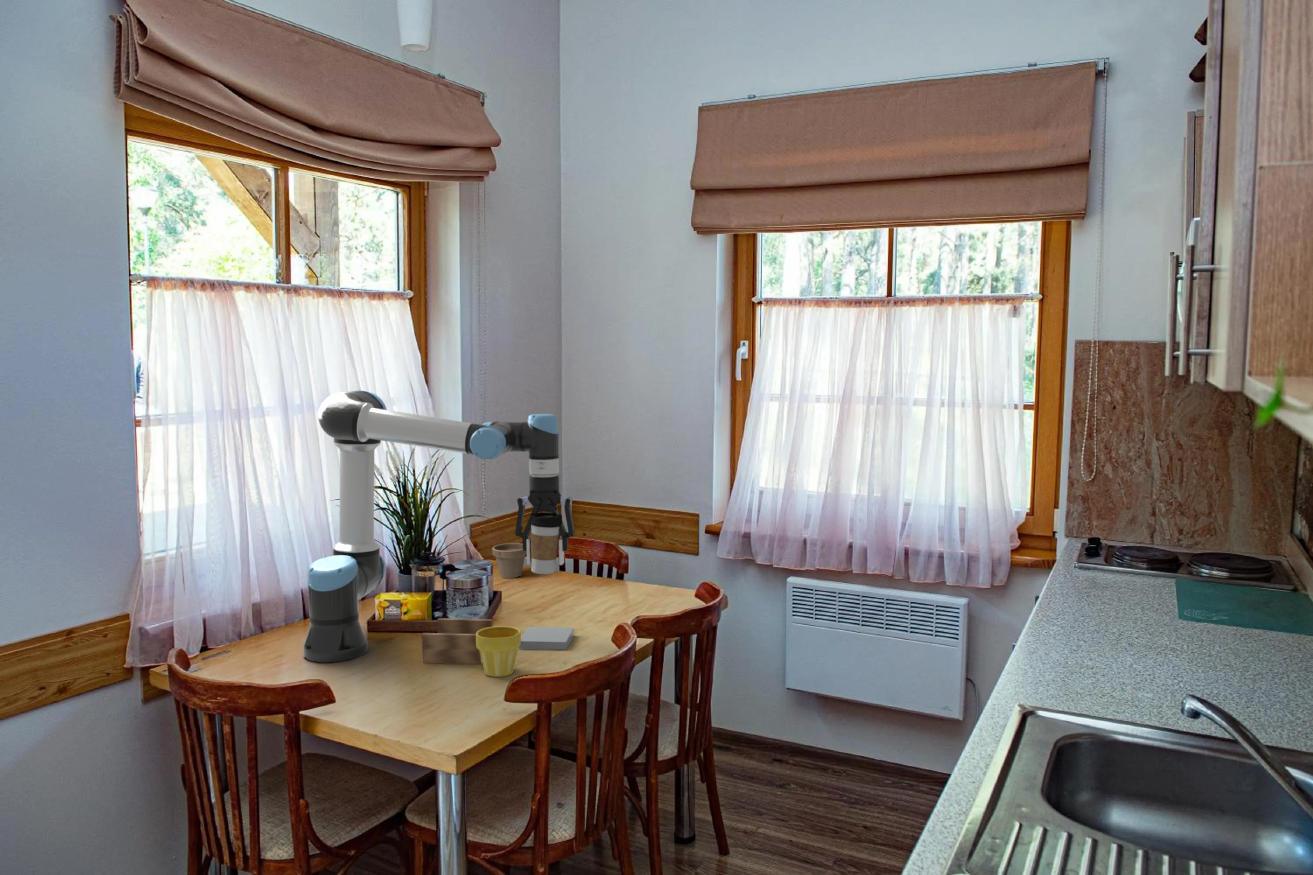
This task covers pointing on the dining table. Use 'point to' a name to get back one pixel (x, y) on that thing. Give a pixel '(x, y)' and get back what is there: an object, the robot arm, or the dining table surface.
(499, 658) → the plant pot
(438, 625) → the rack
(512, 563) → the flower pot
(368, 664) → the dining table surface
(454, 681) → the dining table surface
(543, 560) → the coffee cup
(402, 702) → the dining table surface
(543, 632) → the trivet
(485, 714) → the dining table surface
